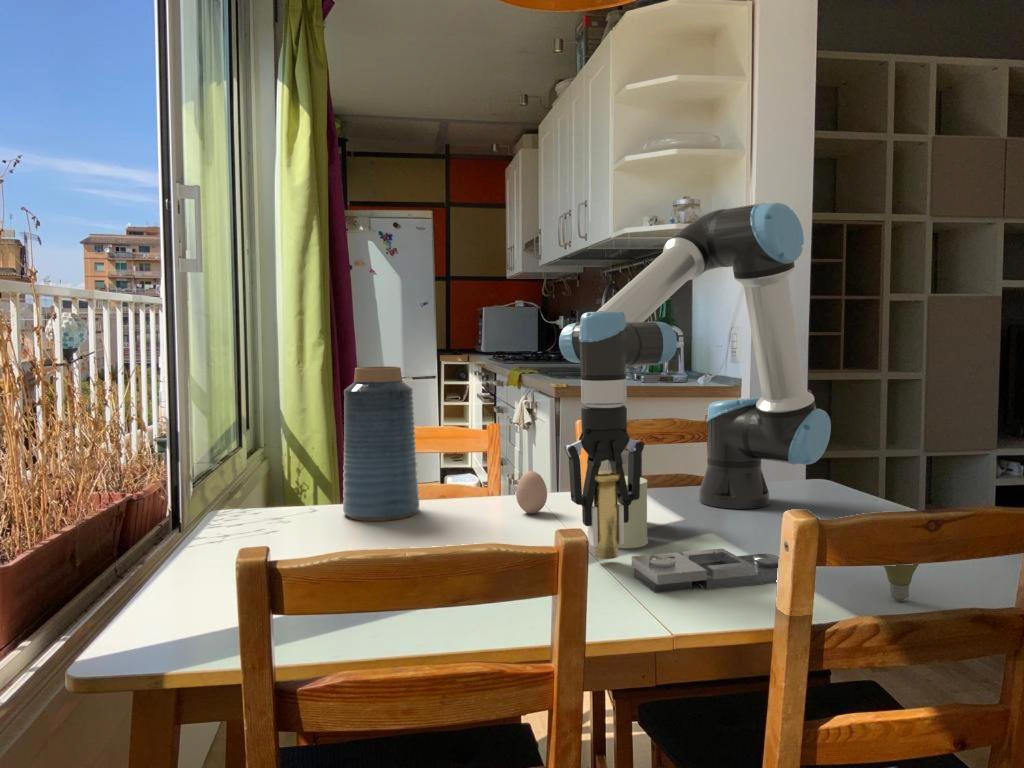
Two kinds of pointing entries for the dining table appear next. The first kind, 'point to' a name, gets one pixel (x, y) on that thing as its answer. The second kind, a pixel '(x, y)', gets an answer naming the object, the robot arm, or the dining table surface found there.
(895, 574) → the light bulb
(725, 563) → the link plates
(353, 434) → the vase
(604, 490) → the pin
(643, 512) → the can
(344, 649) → the dining table surface
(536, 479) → the egg
